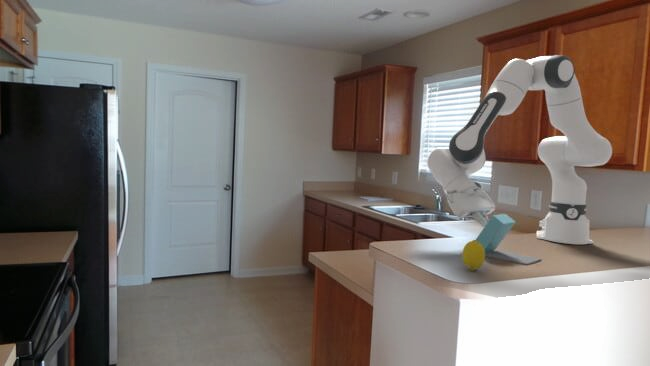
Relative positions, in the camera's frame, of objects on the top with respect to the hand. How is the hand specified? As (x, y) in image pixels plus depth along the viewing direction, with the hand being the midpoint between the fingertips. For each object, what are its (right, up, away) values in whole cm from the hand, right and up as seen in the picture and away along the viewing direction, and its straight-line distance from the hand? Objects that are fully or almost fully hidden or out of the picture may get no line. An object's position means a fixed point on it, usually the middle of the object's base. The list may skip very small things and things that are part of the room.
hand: (487, 225), depth 136 cm
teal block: (-1, -7, +1) cm, 8 cm away
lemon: (-12, -10, -23) cm, 28 cm away
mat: (+5, -9, -6) cm, 12 cm away
